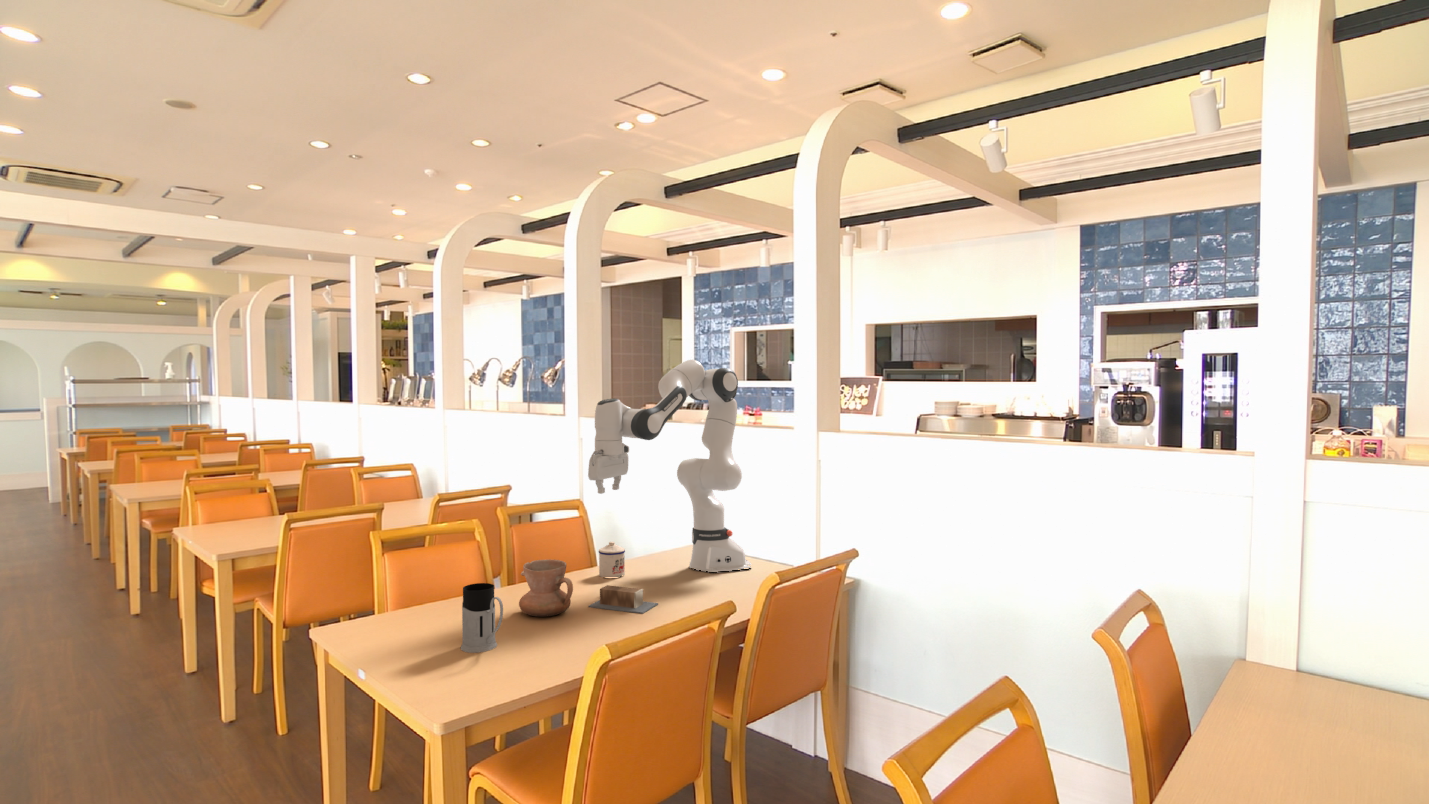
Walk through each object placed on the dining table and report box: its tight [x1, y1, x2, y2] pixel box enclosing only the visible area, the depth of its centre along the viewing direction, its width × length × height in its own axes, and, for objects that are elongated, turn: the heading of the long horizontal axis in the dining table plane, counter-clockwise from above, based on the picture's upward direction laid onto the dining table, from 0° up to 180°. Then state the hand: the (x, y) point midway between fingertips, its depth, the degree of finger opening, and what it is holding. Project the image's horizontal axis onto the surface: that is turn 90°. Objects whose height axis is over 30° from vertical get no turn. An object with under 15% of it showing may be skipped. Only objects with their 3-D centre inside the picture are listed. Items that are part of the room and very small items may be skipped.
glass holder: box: [460, 582, 504, 654], centre depth 187 cm, size 9×14×15 cm, turn 51°
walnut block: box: [599, 584, 644, 608], centre depth 224 cm, size 4×4×12 cm
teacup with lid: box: [598, 541, 626, 578], centre depth 261 cm, size 12×9×12 cm
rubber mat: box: [588, 599, 659, 615], centre depth 224 cm, size 18×10×1 cm, turn 69°
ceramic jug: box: [518, 559, 574, 618], centre depth 216 cm, size 18×14×14 cm
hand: (608, 491), depth 244 cm, fingers open, 8 cm apart
